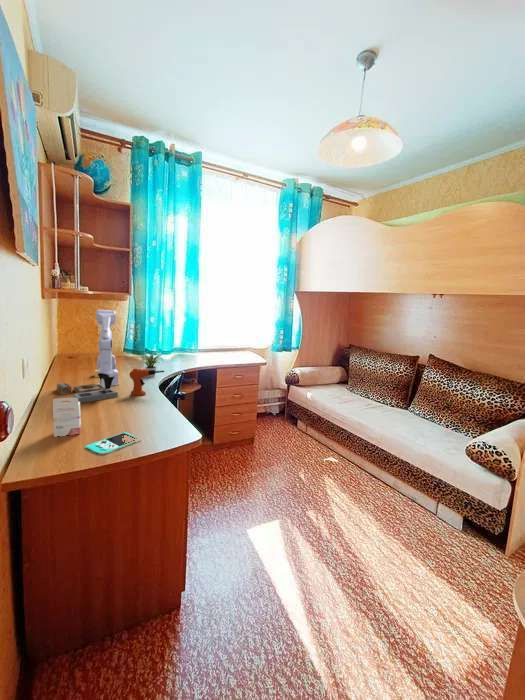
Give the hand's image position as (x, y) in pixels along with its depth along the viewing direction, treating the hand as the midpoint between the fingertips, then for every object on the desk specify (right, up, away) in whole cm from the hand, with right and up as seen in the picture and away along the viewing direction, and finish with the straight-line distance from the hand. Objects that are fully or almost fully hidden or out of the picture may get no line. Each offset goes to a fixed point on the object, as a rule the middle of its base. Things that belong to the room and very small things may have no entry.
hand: (106, 387), depth 166 cm
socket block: (-13, -3, +6) cm, 15 cm away
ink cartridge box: (+8, -12, -45) cm, 47 cm away
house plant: (+8, +2, +46) cm, 47 cm away
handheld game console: (+28, -15, -51) cm, 60 cm away
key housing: (-24, -3, +3) cm, 25 cm away
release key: (-25, -1, +4) cm, 25 cm away
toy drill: (+19, -5, +8) cm, 21 cm away
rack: (-4, -5, -3) cm, 7 cm away
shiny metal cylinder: (0, -4, 0) cm, 4 cm away
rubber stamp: (-22, +3, +40) cm, 45 cm away
